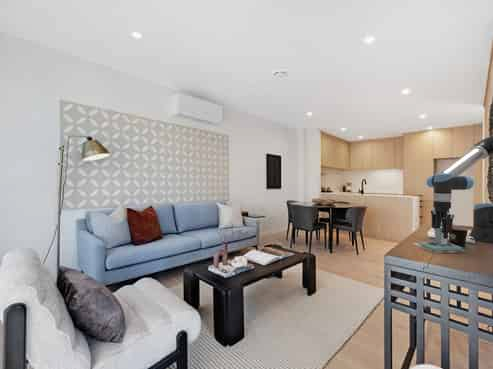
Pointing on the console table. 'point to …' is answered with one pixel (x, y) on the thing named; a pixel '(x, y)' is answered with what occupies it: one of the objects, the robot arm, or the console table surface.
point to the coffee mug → (458, 236)
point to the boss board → (436, 250)
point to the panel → (434, 247)
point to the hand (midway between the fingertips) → (440, 242)
